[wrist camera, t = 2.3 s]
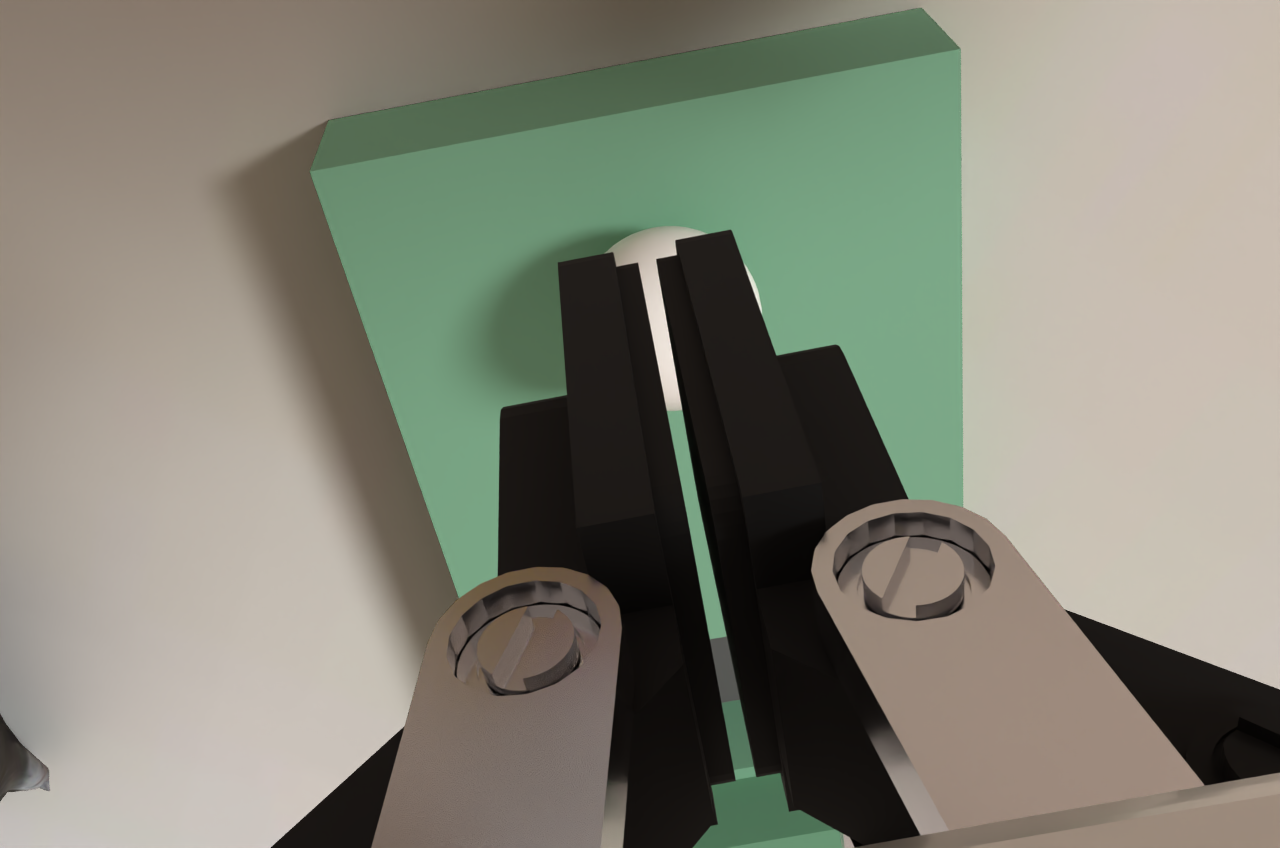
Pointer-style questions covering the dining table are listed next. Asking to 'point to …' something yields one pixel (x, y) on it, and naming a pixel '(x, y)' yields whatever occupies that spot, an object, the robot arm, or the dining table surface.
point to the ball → (659, 292)
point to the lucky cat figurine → (19, 765)
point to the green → (653, 197)
